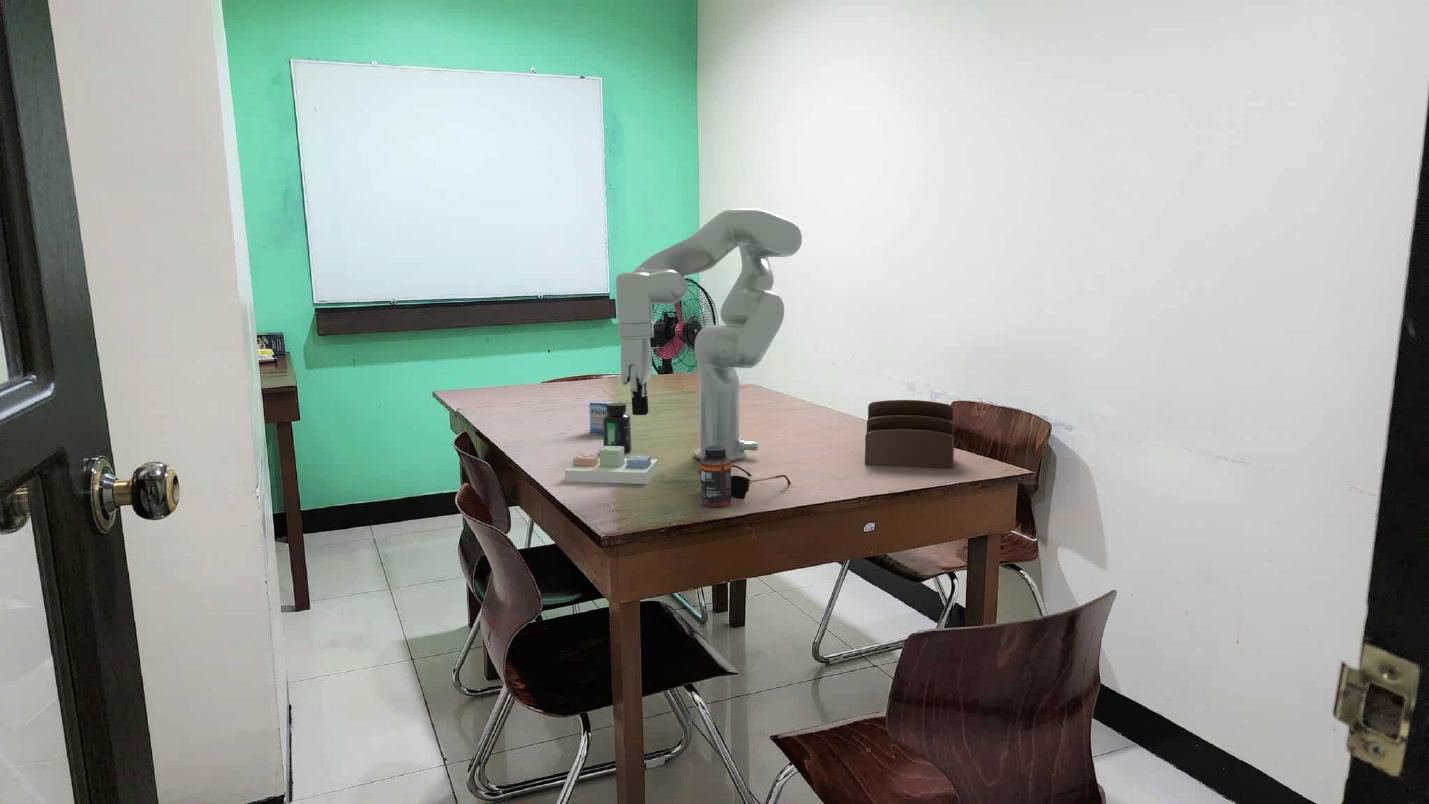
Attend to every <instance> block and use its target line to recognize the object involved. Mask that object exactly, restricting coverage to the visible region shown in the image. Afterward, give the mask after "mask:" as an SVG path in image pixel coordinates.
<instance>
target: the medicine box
mask: <svg viewBox="0 0 1429 804" xmlns="http://www.w3.org/2000/svg"><path fill="white" fill-rule="evenodd" d="M609 403H623V402H622V401H605V400H602V401H601V400H593V401H591V402H589V434H591V433H597V434H596V435H603V418H604V416H605V415H607V412H606V410H607V407H606V405H607V404H609Z"/></svg>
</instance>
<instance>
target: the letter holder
mask: <svg viewBox="0 0 1429 804" xmlns="http://www.w3.org/2000/svg"><path fill="white" fill-rule="evenodd" d="M954 412H955V411H954V406H953V405H950V404H948V403H942V402H938V401H931V400H930V401H929V400H921V399H920V400H919V399H895V400H894V399H892V400H881V401H880V400H879V401H877V400H876V401H872V402H870V403H869V404H868V406H867V421H866V434H865V436H864V437H865V439H864V442H865V443H864V445H865V446H864V447H865V448H864V465H868V466H870V465H874V466H888V465H889V467H890V466H891V467H894V466H895V467H911V468H912V467H913V468H930V467H931V469H932V468H934V469H935V468H937V469H954V457H955V455H954V454H955V453H954V452H955V438H954V432H955V424H954V414H955V413H954Z"/></svg>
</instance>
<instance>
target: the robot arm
mask: <svg viewBox="0 0 1429 804" xmlns="http://www.w3.org/2000/svg"><path fill="white" fill-rule="evenodd" d="M802 236H803V235H802V232H801V229H800V228H799V226H798V225H797V224H796V223H795V222H794V221H792V220H790V219H788V218H786V217H783V216H780V215H778V214H775V213H772V212H770V211H767V210H764V209H761V208H757V207H756V208H755V207H749V208H748V207H747V208H746V207H745V208H731V209H730V208H729V209H726V210H723V211H721V212H719V213H718V214H717V215H715V216H714V217H713V218H711V220H709V221H708V222H706V224H704V225H703V226H702V227H701V228H699V229H698V230H697V231H696V232H694V233H693V234H692V235H691V236H690V237H688V238H686V239H684V240H682V241H680V242H677V243H675V244H673V245H671V246H669V247H667V248H665V249H663V250H661V251H658V252H657V253H655V254H653V255H651V256H650V257H649V258H647V259H646V260H645V261H643V262H642V263H641V264H640V265H638V266H637V267H636V268H635V269H634V270H633V271H631V272H628V271H627V272H621V273H619V274H617V276H616V278H615V289H616V290H615V291H616V293H615V294H616V308H617V325H618V326H617V327H618V339H621V341H620V342H621V343H620V345H621V346H620V379H621V381H620V382H621V384H622V385H623V386H626V385H628V384H630V385H629V387H630V396H631V410H632V415H633V416H646V415H648V413H649V399H648V382H649V380H651V378H652V377H653V359H652V358H653V357H652V347H651V338H654V337H655V332H654V331H655V330H654V314H653V313H654V311H653V309H654V308H653V305H656V304H657V305H658V304H659V305H673V304H676V303H678V302H680V301H682V299H683V298H684V297H685V295H686V294H687V290H688V283H687V280H686V279H685V276H686V277H687V276H689V275H695V274H696V275H697V274H699V273H703V272H704V271H708V270H711V269H712V268H714V267H715V266H716V265H717V264H719V262H720V261H722V260H723V259H724V258H725V257H726V256H727V255H729V254H730V253H731V252H732V251H734V249H735V248H737V247H738V249H739V253H740V259H741V270H740V274H739V276H738V278H737V279H736V281H735V283H734V285H733V286H732V287H731V289H730V291H729V292H728V294H727V296H726V298H725V300H723V303H722V304H721V305H722V306H721V309H720V319H721V321H722V322H723V324H712V325H708V326H705V327H703V328H702V329H700V331H698V333H697V335H696V336H695V340H694V352H695V356H696V357H695V358H696V361H697V368H698V378H699V435H700V436H699V439H700V440H699V441H700V443H699V444H700V447H699V448H697V449H695V450H694V451H693V456H694V458H695V459H697V460H702V459H703V458H704V457H705V456H706V455H705V448H706V447H709V446H723V447H725V448H726V454H725V455H726V457H727V458H729V459H730V461H731V462H732V461H738V460H742V459H744V458H745V457H747V451H755V452H756V451H758V450H759V443H758V442H755V441H750V440H749V441H745V440H744V439H743V435H740V429H741V428H740V424H741V423H740V422H741V421H740V417H741V416H740V388H741V387H740V379H739V376H738V373H737V370H736V369H735V368H738V369H752V368H754V367H756V366H758V364H760V362H761V361H762V360H763V358H764V357H765V355H766V354H767V351H768V349H770V347H771V344H772V342H773V341H774V340H775V337H776V335H777V334H778V332H779V331H780V328H781V326H782V324H783V321H784V318H785V317H784V316H785V304H784V302H783V299H782V297H781V296H780V295H779V294H777V293H776V292H775V291H771V290H772V289H773V286H774V281H775V280H774V279H775V278H774V273H773V270H772V268H771V264H770V261H769V258H785V257H791V256H793V255H795V254H796V253H797V252H798V251H799V250H800V248H801V247H802V241H803V237H802Z"/></svg>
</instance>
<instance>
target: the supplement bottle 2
mask: <svg viewBox="0 0 1429 804" xmlns="http://www.w3.org/2000/svg"><path fill="white" fill-rule="evenodd" d="M725 454H726V448H725V447H723V446H709V447H706V448H705V455H706V456H705V457H704V458H703V459H702V460H701V461H700V469H701V482H700V495H701V496H700V499H701V501H700V502H701V504H702V505H703V506H704V507H707V508H708V507H709V508H712V509H713V508H714V509H715V508H716V509H717V508H724V507H728V506H729V505H731V503H732V498H733V497H732V496H731V476H732V467H731V465H732V461H730V459H729V458H727V457H726V455H725Z"/></svg>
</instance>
